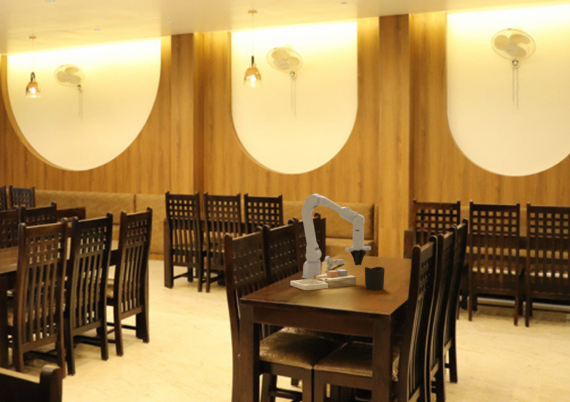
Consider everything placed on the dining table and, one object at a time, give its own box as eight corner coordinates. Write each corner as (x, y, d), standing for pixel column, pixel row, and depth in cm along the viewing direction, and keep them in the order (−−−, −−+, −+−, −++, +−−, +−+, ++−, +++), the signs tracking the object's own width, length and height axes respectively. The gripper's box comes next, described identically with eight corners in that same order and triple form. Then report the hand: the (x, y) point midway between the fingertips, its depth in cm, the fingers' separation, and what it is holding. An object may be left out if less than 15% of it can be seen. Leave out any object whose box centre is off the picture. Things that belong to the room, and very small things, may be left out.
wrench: (344, 269, 382) (326, 270, 355) (341, 268, 383) (323, 270, 356) (344, 255, 383) (327, 256, 355) (341, 255, 384) (324, 256, 356)
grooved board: (313, 282, 321) (313, 275, 321) (340, 280, 329) (340, 272, 329) (329, 287, 309) (329, 279, 309) (356, 284, 317) (356, 276, 317)
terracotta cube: (326, 277, 319) (326, 270, 319) (333, 277, 321) (333, 270, 321) (331, 279, 316) (331, 272, 315) (338, 278, 318) (338, 271, 317)
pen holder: (368, 286, 314) (368, 265, 313) (386, 287, 310) (387, 267, 309) (361, 289, 306) (361, 268, 305) (380, 291, 301) (380, 270, 301)
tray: (290, 285, 315) (290, 281, 315) (313, 283, 321) (313, 278, 321) (305, 290, 303) (305, 285, 302) (328, 287, 309) (328, 283, 309)
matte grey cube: (336, 276, 322) (336, 270, 322) (342, 276, 324) (342, 269, 324) (340, 278, 318) (340, 271, 318) (347, 277, 320) (347, 270, 320)
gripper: (351, 240, 318) (350, 267, 319) (374, 238, 325) (374, 265, 326) (343, 238, 324) (342, 265, 325) (366, 236, 331) (366, 263, 332)
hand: (358, 265), depth 326 cm, fingers closed
